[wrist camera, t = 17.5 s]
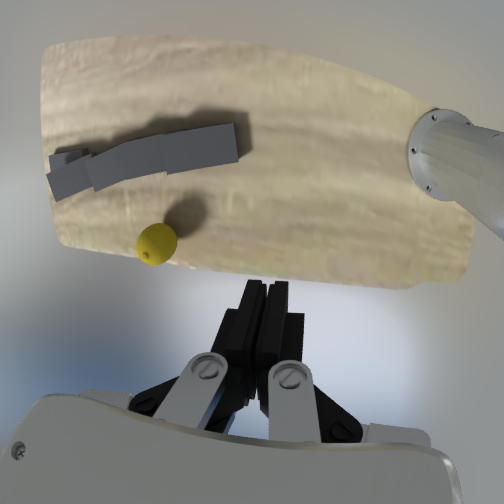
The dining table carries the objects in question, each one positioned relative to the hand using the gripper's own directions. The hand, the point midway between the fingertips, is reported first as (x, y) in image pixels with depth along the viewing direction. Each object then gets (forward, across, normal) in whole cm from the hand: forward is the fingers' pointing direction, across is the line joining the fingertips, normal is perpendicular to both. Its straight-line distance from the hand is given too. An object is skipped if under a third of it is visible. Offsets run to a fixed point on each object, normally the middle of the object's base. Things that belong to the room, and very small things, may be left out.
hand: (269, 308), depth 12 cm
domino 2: (+26, +29, -3) cm, 39 cm away
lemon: (+27, +19, +9) cm, 34 cm away
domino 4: (+26, +14, -4) cm, 30 cm away
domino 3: (+26, +20, -4) cm, 33 cm away
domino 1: (+27, +32, -3) cm, 42 cm away
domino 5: (+26, +7, -4) cm, 28 cm away
